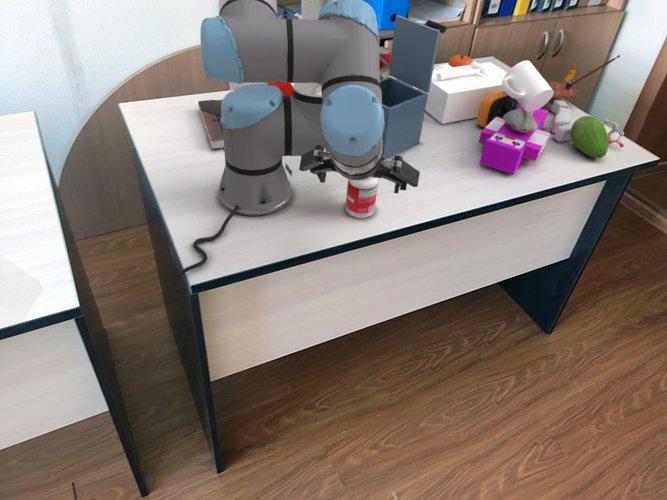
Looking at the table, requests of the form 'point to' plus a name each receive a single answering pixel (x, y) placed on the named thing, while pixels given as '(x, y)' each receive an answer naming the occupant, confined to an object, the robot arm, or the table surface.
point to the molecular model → (614, 132)
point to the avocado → (590, 136)
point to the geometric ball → (442, 66)
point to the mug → (527, 86)
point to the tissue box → (462, 90)
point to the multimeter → (495, 107)
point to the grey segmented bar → (561, 121)
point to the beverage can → (384, 56)
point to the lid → (414, 51)
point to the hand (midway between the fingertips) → (360, 180)
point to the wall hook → (384, 69)
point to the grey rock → (520, 121)
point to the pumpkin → (460, 61)
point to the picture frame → (212, 121)
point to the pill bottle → (361, 197)
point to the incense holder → (567, 89)
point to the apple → (284, 88)
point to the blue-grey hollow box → (401, 115)
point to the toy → (512, 143)
